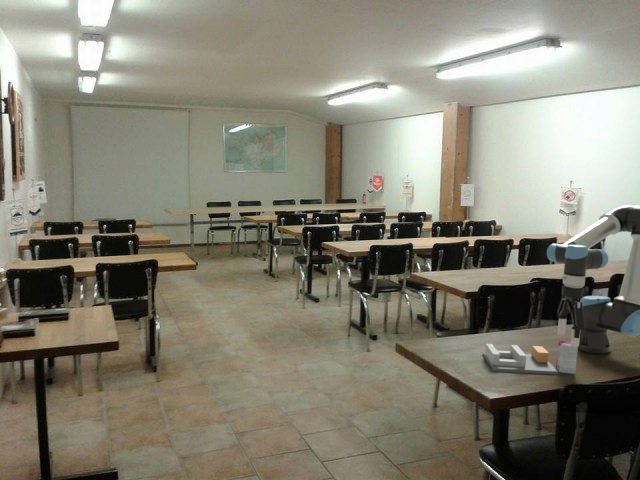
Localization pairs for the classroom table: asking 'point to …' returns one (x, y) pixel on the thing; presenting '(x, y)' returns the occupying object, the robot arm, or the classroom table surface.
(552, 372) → the block
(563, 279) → the robot arm
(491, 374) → the classroom table surface
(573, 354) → the supplement box
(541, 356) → the block
